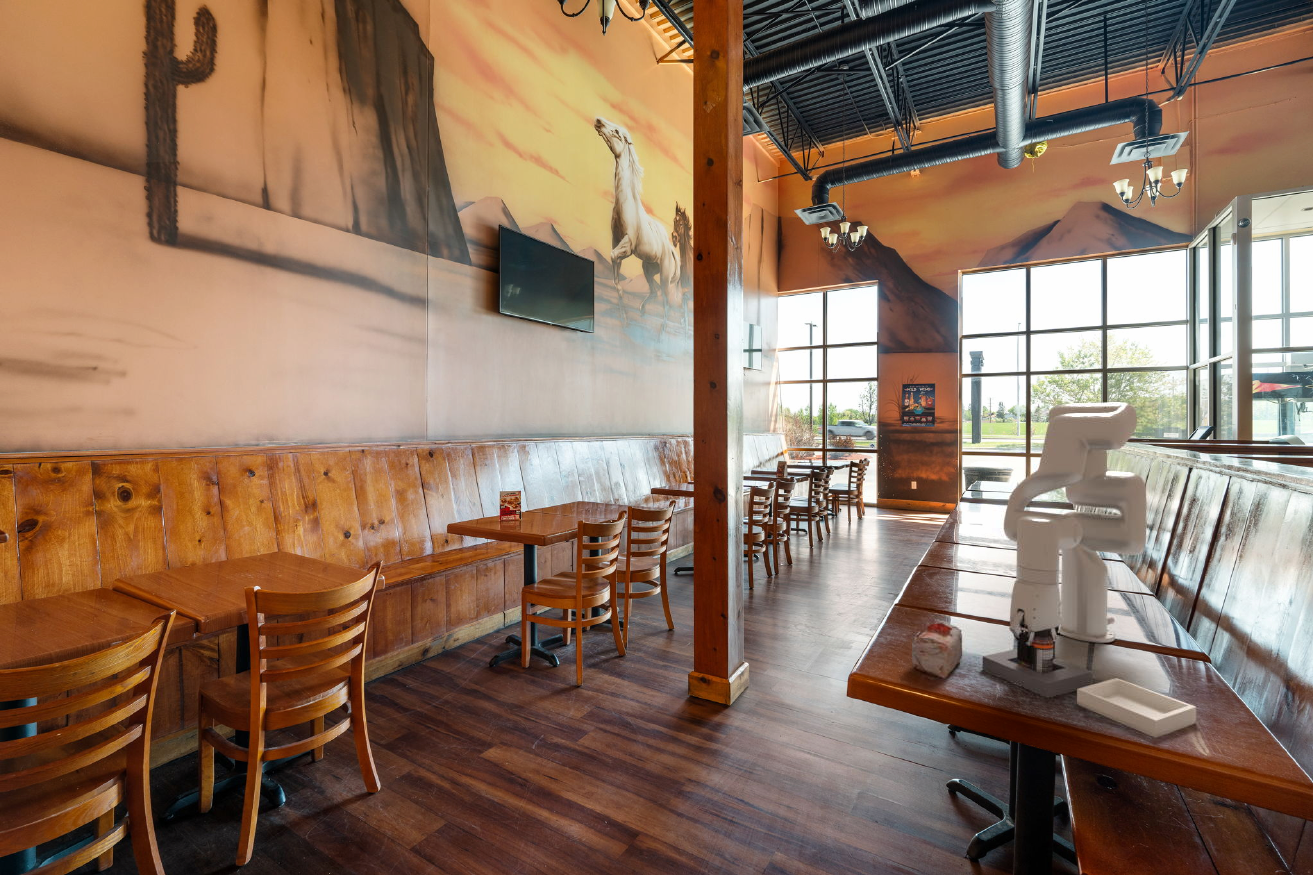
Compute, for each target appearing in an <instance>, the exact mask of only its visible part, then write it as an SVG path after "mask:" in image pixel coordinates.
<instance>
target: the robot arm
mask: <svg viewBox="0 0 1313 875" xmlns="http://www.w3.org/2000/svg"><path fill="white" fill-rule="evenodd" d="M1137 425H1138V415H1137V411H1136V409H1135V408H1134V407H1133V405H1131V404H1129V403H1127V402H1096V403H1093V402H1089V403H1087V402H1085V403H1079V402H1078V403H1066V404H1065V403H1064V404H1060V405H1059V404H1058V405H1056V406H1053V407H1052V408H1051V409H1050V410H1049V412H1048V425H1047V427H1046V433H1045V438H1044V441H1043V445H1042V446H1043V447H1042V451H1041V456H1040V460H1039V466H1038V469H1037V470H1036V471H1034V472H1032V474H1030V475H1028V476H1027V477H1025V478H1024V479H1023V480H1021V482H1020V483H1018V485H1016V487H1015V488H1014V489H1013V490H1012V492H1011V494H1010V496H1009V498H1008V501H1007V506H1006V509H1005V514H1004V520H1003V531H1004V534H1005V536H1006V537H1007V539H1008V540H1010V541H1012V542H1014V543H1016V575H1015V576H1016V577H1015V579H1016V580H1014V584H1013V586H1012V594H1011V597H1010V598H1011V600H1010V608H1009V609H1010V610H1009V612H1010V613H1009V623H1010V625H1009V631H1010V632H1011V633H1012V634H1013V637H1014V638H1015V642H1017V643H1016V646H1017V648H1016V649H1017V659H1018V660H1020V661H1023V662H1025V663H1028V664H1034V646H1033V645H1031V644H1032V641H1033V637H1034V634H1035V632H1037V631H1041V630H1045V629H1048V636H1050V637H1051V638H1052V640H1053V659H1055V658H1056V653H1055V652H1056V641H1057V639H1058V636H1057V633H1058V634H1059V633H1060V635H1062V636H1064V637H1068V638H1070V639H1073V640H1078V641H1083V642H1088V643H1089V642H1090V643H1098V644H1099V643H1100V644H1101V643H1102V644H1104V643H1107V644H1108V643H1111V642H1114V641H1115V634H1114V633H1113V631H1111V630H1110V629H1109V630H1108V626H1109V625H1112V624H1115V622H1116V621H1115V618H1114V617H1113V616H1112V615H1111V616H1110V615H1108V591H1109V590H1108V588H1109V585H1108V584H1109V569H1108V567H1107V564H1106V563H1105V561H1104V560H1103V559H1102V558H1101V557H1100V555H1099V554H1098V553H1097V552H1103V553H1109V554H1118V555H1124V556H1125V555H1126V556H1138V555H1140V554H1142V553H1143V552H1144V550H1145V548H1146V542H1147V488H1146V484H1145V481H1144V479H1143V478H1142V477H1141V475H1139V474H1136V473H1134V472H1129V471H1127V472H1126V471H1110V470H1109V469H1108V452H1107V451H1116V450H1117V451H1118V450H1120V449H1122V448H1123V447H1124V446H1125V445H1126V444H1127V442H1128V441H1129V440H1130V438H1132V436H1133V435H1134V434H1135V431H1136V430H1137ZM1063 488H1065V497H1066V501H1068V502H1069V503H1070V504H1072V505H1073V506H1077V507H1084V508H1091V509H1101V510H1102V509H1104V510H1111V511H1113V510H1114V511H1118V512H1119V513H1120V514H1121V515H1118V514H1108V513H1101V512H1098V513H1097V512H1089V511H1069V512H1066V513H1064V514H1062V513H1054V512H1053V513H1052V512H1045V511H1034V510H1025V509H1026V508H1027V506H1028V504H1029V503H1030V502H1031V501H1032V500H1034V499H1035V498H1037V497H1039V496H1041V495H1043V494H1046V493H1049V492H1052V491H1056V490H1060V489H1063ZM1060 550H1061V551H1060ZM1060 552H1061V553H1060ZM1060 554H1061V578H1060ZM1060 579H1061V582H1060ZM1060 583H1061V584H1060ZM1059 585H1060V586H1061V588H1060V586H1059ZM1060 590H1061V592H1060ZM1026 626H1028V628H1027V629H1026ZM1025 631H1026V632H1028V635H1027V637H1026V636H1025V634H1024V633H1023V632H1025Z"/></svg>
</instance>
